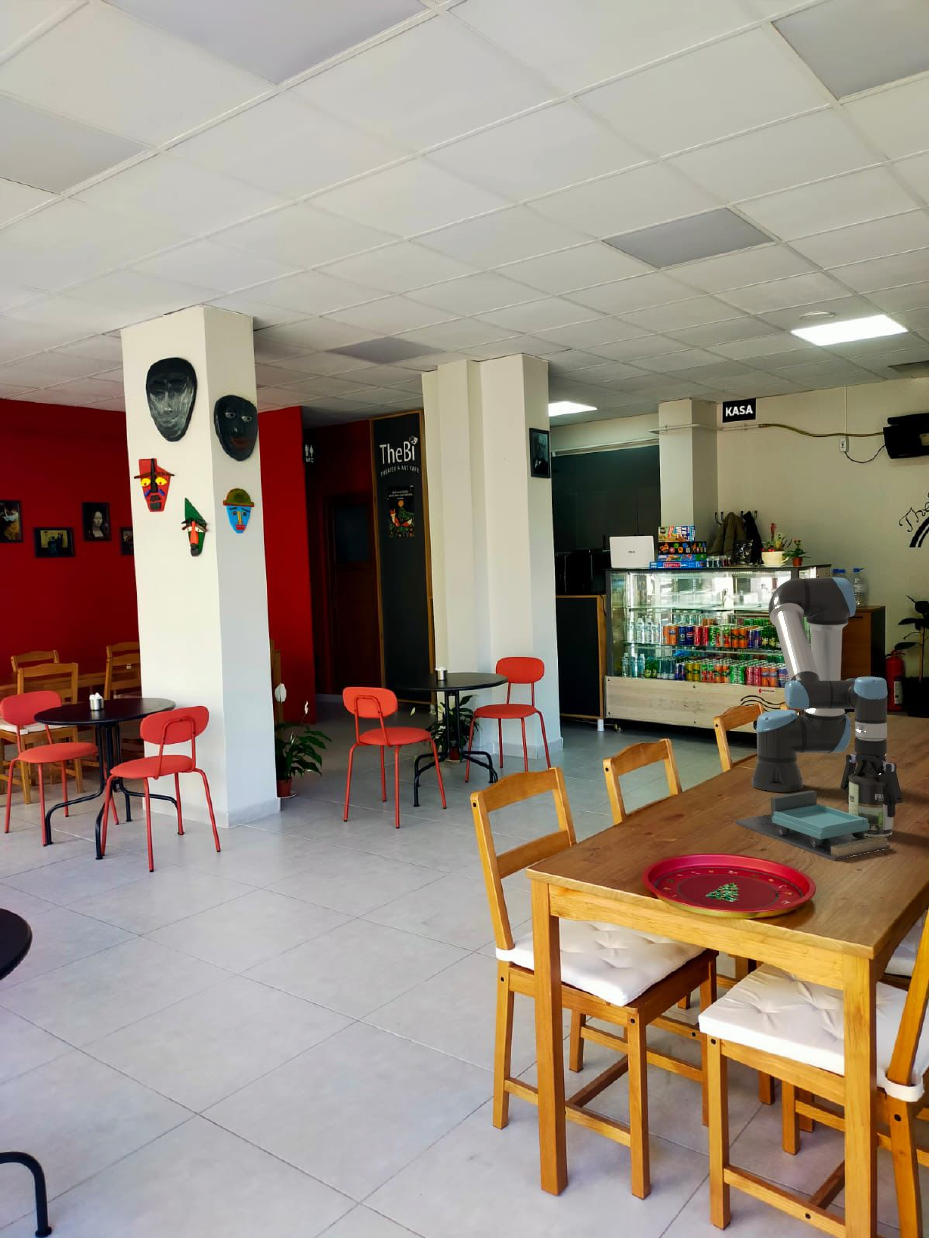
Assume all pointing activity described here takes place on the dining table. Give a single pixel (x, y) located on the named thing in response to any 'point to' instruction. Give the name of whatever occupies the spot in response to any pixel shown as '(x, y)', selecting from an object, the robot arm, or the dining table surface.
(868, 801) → the coffee can
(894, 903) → the dining table surface
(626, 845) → the dining table surface
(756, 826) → the track
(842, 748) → the robot arm
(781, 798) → the cart
